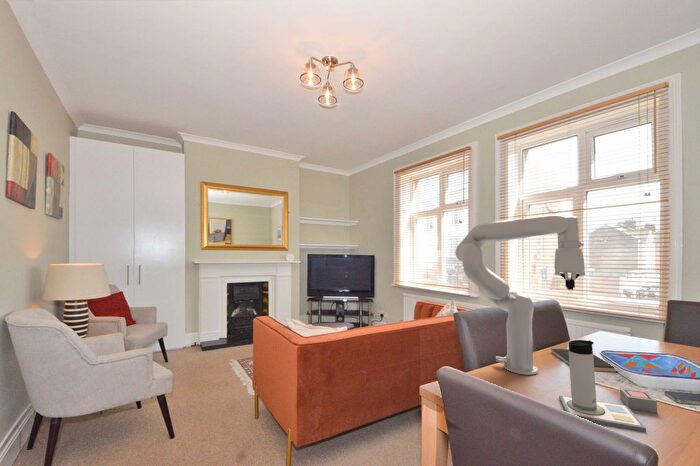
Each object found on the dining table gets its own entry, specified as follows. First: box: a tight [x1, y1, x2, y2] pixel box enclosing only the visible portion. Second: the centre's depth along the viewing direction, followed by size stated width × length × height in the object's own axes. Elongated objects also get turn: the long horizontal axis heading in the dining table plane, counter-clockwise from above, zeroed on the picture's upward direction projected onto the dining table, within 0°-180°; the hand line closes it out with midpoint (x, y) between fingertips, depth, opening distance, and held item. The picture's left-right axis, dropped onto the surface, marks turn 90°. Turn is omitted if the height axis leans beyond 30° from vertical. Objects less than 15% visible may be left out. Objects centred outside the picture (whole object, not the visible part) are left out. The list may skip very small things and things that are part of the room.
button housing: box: [619, 387, 658, 413], centre depth 103 cm, size 7×7×4 cm
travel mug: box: [568, 339, 597, 411], centre depth 101 cm, size 6×7×20 cm
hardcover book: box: [550, 348, 617, 373], centre depth 144 cm, size 16×23×2 cm
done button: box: [626, 390, 649, 399], centre depth 103 cm, size 4×4×2 cm
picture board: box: [558, 395, 647, 433], centre depth 98 cm, size 18×14×1 cm
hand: (570, 289), depth 135 cm, fingers closed
